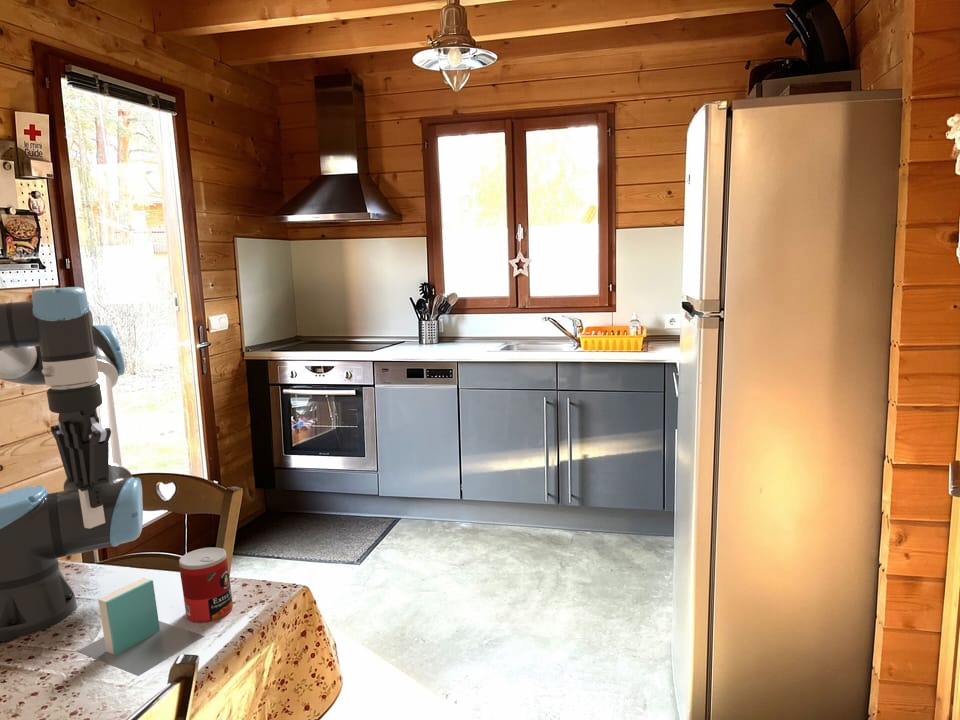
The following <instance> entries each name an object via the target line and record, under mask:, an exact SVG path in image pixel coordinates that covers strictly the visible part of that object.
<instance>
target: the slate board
mask: <svg viewBox="0 0 960 720" xmlns="http://www.w3.org/2000/svg"><path fill="white" fill-rule="evenodd" d="M159 627H160V631H158V632H156V633H154V634H153V635H151V636H149V637H147V638H145V639H144V640H142V641H140V642H138V643H136V644H135V645H133V646H131V647H129V648H128V649H126V650H124V651H122V652H120V653H119V654H117V655H114V654H112V653H109V652H106V646H105V640H104V636H103V637H101V638H99V639H97V640H95V641H94V642H90V643H89V644H88V645H86V646H84V647H82V648H80V649H78V650H76V652H77V653H80V654H82V655H85V656H88V657H91V658H92V659H96V660H98V661H100V662H103V663H105V664H108V665H111V666H113V667H116V668H118V669H121V670H122V671H126V672H129V674H130V673H131V674H133V675H136V676H138V677H139V676H141V675H143V674H145V673H146V672H148V671H149V670H151V669H153V668H155V667H156V666H158V665H159V664H161V663H162V662H164V661H165V660H167V659H169V658H171V657H173V656H174V655H176V654H178V653H179V652H181V651H183V650H184V649H185V648H187V647H189V646H191V645H193V644H194V643H195V642H197V641H199V640H200V639H203V638H205V635H203V634H201V633H197V632H194V631H191V630H187V629H184V628H182V627H180V626H176V625H173V624H169V623H166V622H164V621H161V620H159Z"/></svg>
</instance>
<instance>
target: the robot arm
mask: <svg viewBox="0 0 960 720" xmlns="http://www.w3.org/2000/svg"><path fill="white" fill-rule="evenodd" d="M31 299H32V300H28V301H16V302H8V303H7V302H5V303H0V380H2V381H7V382H10V383H15V384H19V385H20V384H22V385H29V386H30V385H31V386H41V385H46V386H47V387H50V388H48V389H47V390H46V396H47V397H46V398H47V403H48V409H49V411H50V412H51V413H53V414H58V418H57V419H58V423H57V424H56V425H52V426H50V432H51V434H52V435H53V437H54V439H55V442H56V445H57V449H58V452H59V456H60V459H61V462H62V465H63V469H64V473H65V476H66V479H65V480H64V482H63V490H61V491H55V492H51V493H49V491H48V489H47V488H46V486H43V485H34V486H32V485H31V486H25V487H21V488H20V487H19V488H17V489H14V490H10V491H8V492H7V491H6V492H5V493H1V494H0V641H6V642H12V641H15V640H17V639H19V638H22V637H27V636H30V635H33V634H36V633H39V632H41V631H44V630H47V629H50V628H51V627H53V626H55V625H57V624H59V623H61V622H62V621H64V620H65V619H68V617H69V616H71V614H73V613H75V612H76V611H77V607H78V606H77V598H76V594H75V592H74V590H73V589H72V587H71V585H70V584H69V582H68V581H67V579H66V577H65V576H64V574H63V573H62V571H61V569H60V564H59V559H60V558H63V557H69V556H73V555H78V554H81V553H87V552H92V551H96V550H100V549H101V550H102V549H105V548H111V547H113V548H114V547H118V546H119V545H122V544H126V543H129V542H133V541H135V540H138V538H139V537H140V536H141V533H142V531H143V520H144V519H143V518H144V517H143V516H144V507H143V506H144V505H143V485H142V480H141V478H140V477H133V476H132V473H131V471H130V470H129V469H128V468H126V467H124V466H123V465H122V464H123V463H122V456H121V448H120V441H119V433H118V427H117V426H118V425H117V419H116V417H117V416H116V411H115V402H114V395H113V388H114V387H115V385H116V384H117V383H118V379H119V377H120V376H123V375H124V374H125V371H126V369H125V362H124V357H123V354H122V350H121V346H120V342H119V338H118V336H117V333H116V331H115V329H114V328H113V327H111V326H110V325H107V324H104V325H103V324H102V325H100V324H99V325H97V324H96V325H94V319H93V314H92V311H91V310H90V303H89V302H88V296H87V293H86V290H85V289H84V288H82V287H81V286H68V287H57V288H56V287H54V288H43V289H36V290H34V291H33V292H32V294H31Z"/></svg>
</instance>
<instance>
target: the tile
mask: <svg viewBox="0 0 960 720" xmlns="http://www.w3.org/2000/svg"><path fill="white" fill-rule="evenodd" d="M97 602H98V607H99V608H98V609H99V615H100V619H101V626H102V627H101V628H102V632H103V637H104V640H105V646H106V652H109V653H112V654H114V655H117V654H119V653H120V652H122V651H124V650H126V649H128V648H129V647H131V646H133V645H135V644H136V643H138V642H140V641H142V640H144V639H145V638H147V637H149V636H151V635H153V634H154V633H156V632H158V631H160V627H159V621H160V619H159V614H158V606H157V600H156V593H155V587H154V580H153V579H149V578H146V577H142V578H140V579H138V580H136V581H135V582H132V583H129V584H128V585H125V586H123V587H121V588H119V589H117V590H114V591H113V592H111V593H108V594H106V595H105V596H102V597H100V598H98V600H97Z"/></svg>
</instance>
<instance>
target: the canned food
mask: <svg viewBox="0 0 960 720" xmlns="http://www.w3.org/2000/svg"><path fill="white" fill-rule="evenodd" d="M178 562H179V563H178V565H179V573H180V581H181V588H182V595H183V604H184V608H185V616H186V618H187V620H188V621H190V622H192V623H195V624H196V623H197V624H202V623H203V624H204V623H211V622H215V621H218V620H220V619H222V618H224V617H226V616H228V615H229V614H230V613H231V612H232V610H233V607H234V604H233V594H232V588H231V578H230V571H229V562H228V555H227V552H226V549H224V548H221V547H216V546H215V547H210V546H209V547H202V548H198V549H197V548H196V549H195V550H192V551H189V552H187V553H185V554H183V555H182V556H181V557H179V559H178Z"/></svg>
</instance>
